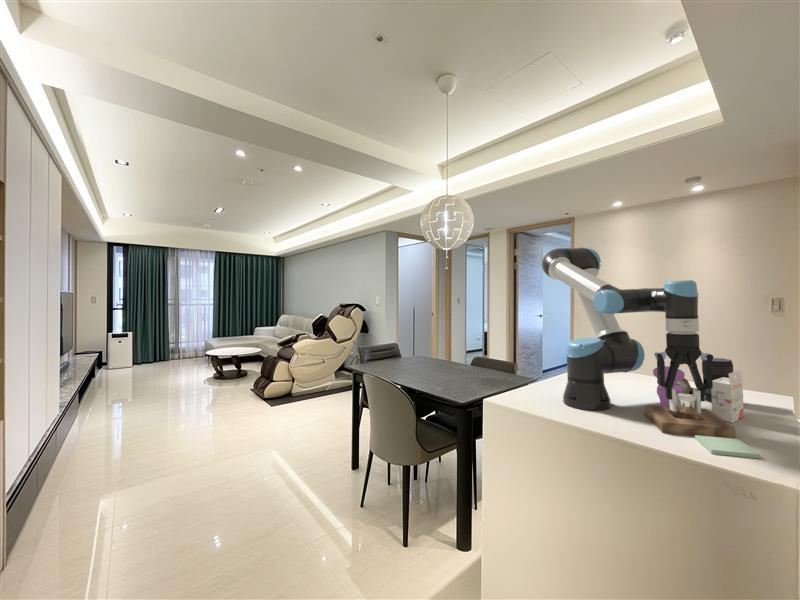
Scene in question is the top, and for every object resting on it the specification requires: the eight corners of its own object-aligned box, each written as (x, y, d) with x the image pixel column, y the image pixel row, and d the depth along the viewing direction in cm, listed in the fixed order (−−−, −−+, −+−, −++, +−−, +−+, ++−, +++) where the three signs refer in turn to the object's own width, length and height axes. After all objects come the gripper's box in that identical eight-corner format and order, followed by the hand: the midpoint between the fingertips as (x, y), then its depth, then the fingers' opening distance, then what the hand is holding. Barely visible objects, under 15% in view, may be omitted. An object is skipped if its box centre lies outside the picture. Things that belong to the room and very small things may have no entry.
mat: (711, 453, 83) (711, 449, 83) (695, 438, 91) (694, 435, 91) (760, 458, 80) (759, 454, 80) (738, 442, 88) (738, 439, 88)
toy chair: (687, 408, 115) (685, 364, 115) (685, 415, 108) (684, 368, 108) (656, 403, 120) (654, 361, 120) (653, 410, 114) (651, 366, 114)
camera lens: (721, 398, 123) (719, 357, 123) (741, 405, 115) (739, 361, 115) (697, 398, 124) (695, 357, 124) (715, 405, 116) (713, 361, 116)
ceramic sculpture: (652, 373, 128) (666, 369, 137) (652, 396, 128) (666, 391, 137) (688, 378, 120) (701, 374, 128) (688, 403, 119) (701, 397, 128)
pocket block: (662, 432, 96) (662, 422, 96) (644, 413, 111) (644, 404, 111) (735, 439, 90) (734, 427, 90) (706, 418, 105) (706, 408, 105)
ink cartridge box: (723, 413, 109) (721, 367, 109) (744, 417, 105) (742, 370, 104) (711, 418, 105) (709, 370, 105) (732, 423, 101) (730, 373, 101)
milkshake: (670, 423, 103) (668, 390, 103) (686, 421, 103) (685, 388, 103) (684, 428, 98) (682, 394, 98) (701, 427, 98) (699, 392, 98)
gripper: (649, 334, 100) (652, 412, 100) (728, 334, 94) (731, 418, 94) (641, 331, 107) (644, 404, 107) (714, 331, 101) (717, 409, 101)
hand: (685, 410), depth 101 cm, fingers closed on milkshake, 5 cm apart
